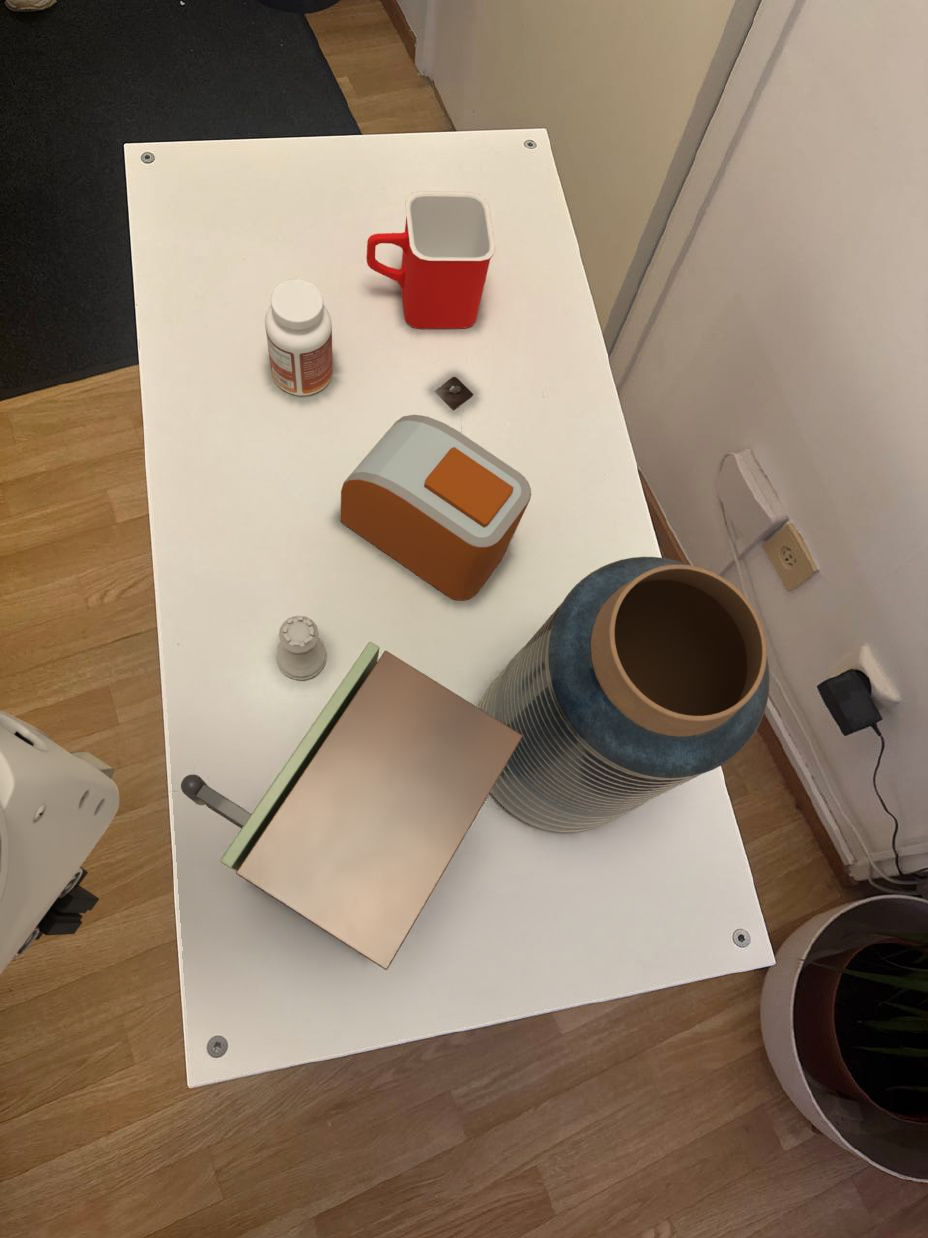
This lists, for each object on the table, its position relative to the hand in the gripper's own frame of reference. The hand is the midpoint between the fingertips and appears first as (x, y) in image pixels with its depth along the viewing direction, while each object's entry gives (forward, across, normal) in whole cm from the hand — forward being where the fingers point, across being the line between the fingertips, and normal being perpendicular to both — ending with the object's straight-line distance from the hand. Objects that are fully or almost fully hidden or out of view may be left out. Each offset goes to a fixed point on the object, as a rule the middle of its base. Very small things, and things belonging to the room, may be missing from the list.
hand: (56, 895), depth 36 cm
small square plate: (+38, -54, -8) cm, 67 cm away
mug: (+38, -62, -17) cm, 75 cm away
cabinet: (+38, -11, +8) cm, 40 cm away
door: (+17, -11, +2) cm, 21 cm away
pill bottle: (+38, -47, -22) cm, 65 cm away
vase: (+38, -28, +19) cm, 51 cm away
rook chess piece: (+38, -22, -5) cm, 44 cm away
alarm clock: (+38, -39, -2) cm, 55 cm away
